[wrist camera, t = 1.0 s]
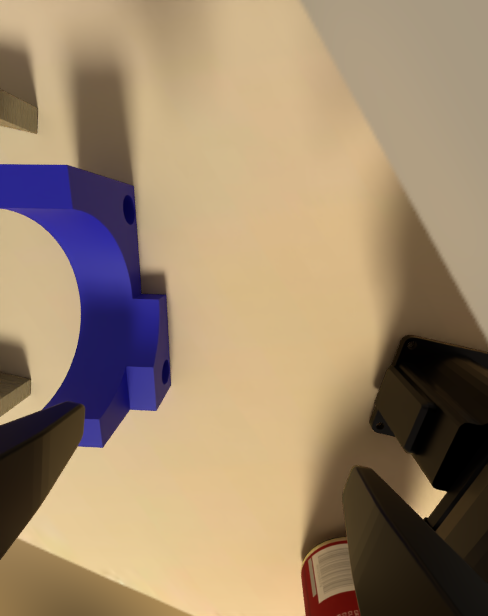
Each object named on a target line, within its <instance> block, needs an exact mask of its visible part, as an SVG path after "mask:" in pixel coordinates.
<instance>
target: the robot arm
mask: <svg viewBox="0 0 488 616" xmlns="http://www.w3.org/2000/svg"><path fill="white" fill-rule="evenodd" d="M410 342H413V345H412V346H411V347H408V344H409V343H410ZM375 405H376V406H375V409H374V411H373V414H372V417H371V419H370V425H371V427H372V429H373V430H374V431H375V432H377V433H381V434H385V435H390V436H394V437H396V438H397V440H398V441H399V443H400V444H401V446H402V447H403V449H404V451H405V452H406V453H410V454H412V456H413V457H414V459H415V460H416V462H417V463H418V465H419V466H420V468H421V469H422V471H423V472H424V474H425V475H426V477H427V478H428V480H429V481H430V483H431V485H432V486H433V488H435V489H438V490H443V491H446V492H447V493H446V494H445V496H444V497H443V499H442V500H441V501H440V503H439V504H438V505H437V507H436V508H435V509H434V511H433V512H432V513H431V515H430V516H429V518H427V517H425V518H424V519H422V518H421V517H420V516H419V515H418V514H417V513H416V512H415V511H414V510H413V509H412V508H411V507H410V506H409V505H408V504H407V503H406V502H405V501H404V500H403V499H402V498H401V497H400V496H399V495H398V494H397V493H396V492H395V491H394V490H393V489H392V488H391V487H390V486H389V485H388V484H387V483H386V482H385V481H384V480H383V479H382V478H381V477H380V476H379V475H378V474H377V473H375V472H374V471H373V470H372V469H370V468H367V467H363V466H358V465H355V466H353V467H352V469H351V471H350V474H349V477H348V479H347V482H346V484H345V487H344V490H343V494H342V503H343V511H344V519H345V527H346V535H347V542H348V550H349V558H350V565H351V572H352V578H353V583H354V588H355V593H356V597H357V602H358V606H359V611H360V615H361V616H488V352H485V351H480V350H476V349H471V348H467V347H462V346H458V345H454V344H449V343H445V342H440V341H436V340H431V339H427V338H422V337H418V336H414V335H407V336H405V337H403V338H402V340H401V342H400V344H399V347H398V349H397V352H396V354H395V357H394V360H393V362H392V365H391V366H390V367H389V368H388V369H387V371H386V374H385V376H384V379H383V382H382V384H381V387H380V389H379V392H378V395H377V397H376V400H375ZM84 420H85V406H84V405H83V404H80V403H76V402H71V401H66V402H63V403H60V404H57V405H54V406H52V407H49V408H46V409H44V410H41V411H38V412H35V413H33V414H30V415H27V416H25V417H22V418H19V419H16V420H14V421H11V422H8V423H6V424H3V425H0V560H1V558H2V557H3V556H4V554H5V553H6V552H7V550H8V549H9V548H10V546H11V545H12V544H13V542H14V541H15V540H16V538H17V537H18V536H19V534H20V533H21V532H22V530H23V529H24V528H25V526H26V525H27V524H28V522H29V521H30V520H31V518H32V517H33V516H34V514H35V513H36V511H37V510H38V509H39V507H40V506H41V504H42V503H43V501H44V500H45V498H46V497H47V495H48V494H49V492H50V490H51V489H52V487H53V485H54V484H55V482H56V481H57V479H58V477H59V476H60V474H61V472H62V471H63V469H64V468H65V466H66V464H67V463H68V461H69V459H70V458H71V456H72V455H73V453H74V451H75V450H76V448H77V446H78V445H79V443H80V441H81V439H82V436H83V432H84ZM377 423H381V425H377Z"/></svg>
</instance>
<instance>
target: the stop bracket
mask: <svg viewBox="0 0 488 616" xmlns="http://www.w3.org/2000/svg"><path fill="white" fill-rule="evenodd" d="M37 109H38V108H36V107H34V106H32V105H30V104H28V103H26V102H24V101H22V100H21V99H19V98H17V97H15V96H13V95H11V94H9V93H7V92H5V91H3V90H2V89H0V126H4V127H9V128H13V129H18V130H22V131H27V132H31V133H35V134H37ZM30 387H31V379H27V378H23V377H18V376H14V375H10V374H5V373H1V372H0V417H1V416H2V415H3V414H5V413H6V412H8V411H9V410H10V409H12V408H13V407H14V406H16V405H17V404H19V403H20V402H21V401H23V400H24V399H25V398H27V397H28V396H29V395H30Z"/></svg>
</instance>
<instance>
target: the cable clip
mask: <svg viewBox="0 0 488 616" xmlns="http://www.w3.org/2000/svg"><path fill="white" fill-rule="evenodd" d="M0 209H7V210H11V211H14V212H17V213H20V214H22V215H25V216H27V217H29V218H30V219H32V220H34V221H35V222H37V223H38V224H40V225H41V226H42V227H44V228H45V229H46V230H47V231H48V232H49V233H50V234H51V235H52V236H53V237H54V238H55V239H56V241H57V242H58V243H59V245H60V246H61V247H62V249H63V250H64V252H65V254H66V256H67V257H68V259H69V261H70V264H71V266H72V268H73V271H74V274H75V277H76V280H77V284H78V289H79V295H80V303H81V325H80V334H79V340H78V345H77V349H76V352H75V356H74V359H73V362H72V364H71V367H70V369H69V371H68V373H67V375H66V377H65V379H64V381H63V383H62V385H61V386H60V388H59V389H58V391H57V392H56V394H55V395H54V396H53V398H52V399H51V400H50V402H49V403H48V404H47V405H46V406H45V407H44V408H43V409H42V410H44V409H46V408H49V407H52V406H54V405H57V404H60V403H63V402H66V401H71V402H76V403H80V404H83V405H84V406H85V420H84V432H83V436H82V439H81V441H80V443H79V445H78V446H82V447H100V448H103V447H104V445H105V444H106V442H107V441H108V440H109V438H110V437H111V435H112V434H113V433H114V431H115V430H116V428H117V427H118V426H119V424H120V423H121V421H122V420H123V419H124V417H125V416H126V414H127V413H128V412H129V410H150V411H157V409H158V407H159V405H160V404H161V402H162V400H163V398H164V397H165V395H166V393H167V391H168V389H169V388H170V386H171V376H170V356H169V336H168V317H167V297H166V295H165V294H142V292H141V279H140V265H139V251H138V238H137V224H136V210H135V197H134V186H132V185H129V184H126V183H123V182H119V181H116V180H113V179H110V178H107V177H104V176H101V175H97V174H94V173H91V172H88V171H85V170H82V169H78V168H75V167H72V166H69V165H18V164H0Z"/></svg>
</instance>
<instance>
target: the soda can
mask: <svg viewBox="0 0 488 616" xmlns="http://www.w3.org/2000/svg"><path fill="white" fill-rule="evenodd" d="M301 578H302V587H303V596H304V604H305V613H306V616H361V615H360V611H359V606H358V602H357V597H356V593H355V588H354V583H353V578H352V572H351V565H350V558H349V550H348V542H347V537H340V538H334V539H331V540H328V541H325V542H323V543H321V544H319V545H317V546H316V547H314V548H313V549H312V550H311V551H310V552H309V553H308V554H307V556H306V557H305V559H304V561H303V564H302V568H301Z"/></svg>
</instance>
